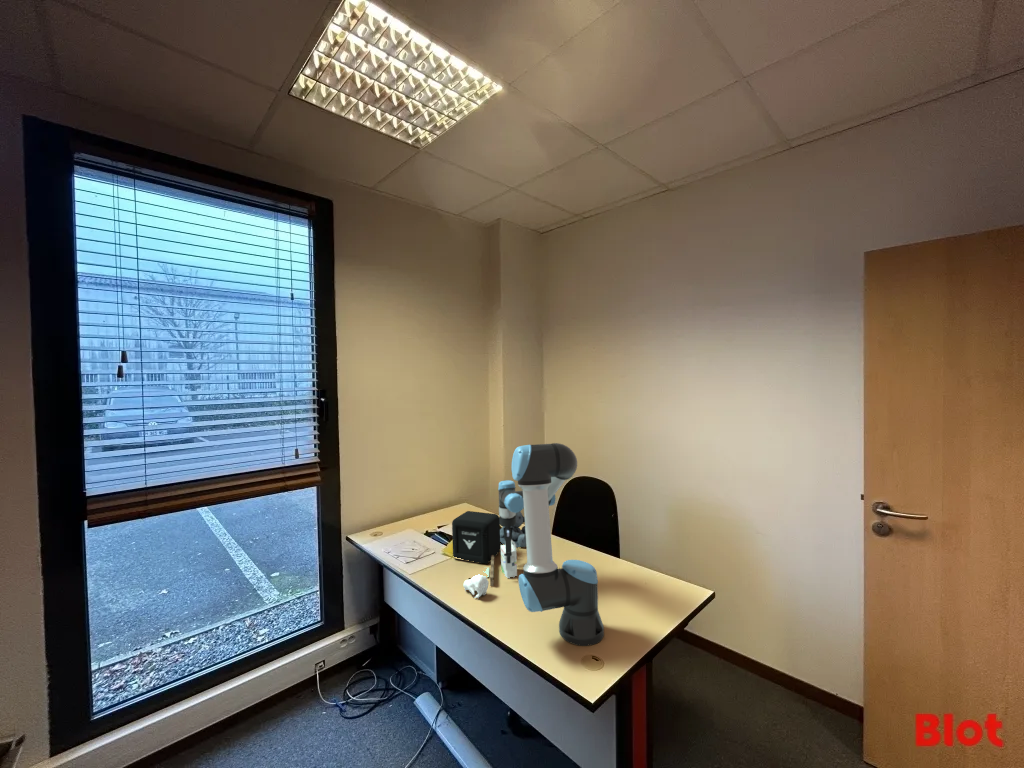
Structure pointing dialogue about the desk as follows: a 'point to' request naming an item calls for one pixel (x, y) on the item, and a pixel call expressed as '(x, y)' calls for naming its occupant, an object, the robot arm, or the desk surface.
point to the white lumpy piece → (477, 585)
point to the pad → (487, 572)
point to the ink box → (514, 561)
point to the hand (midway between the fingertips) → (508, 562)
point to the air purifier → (476, 536)
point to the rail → (492, 570)
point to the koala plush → (516, 532)
